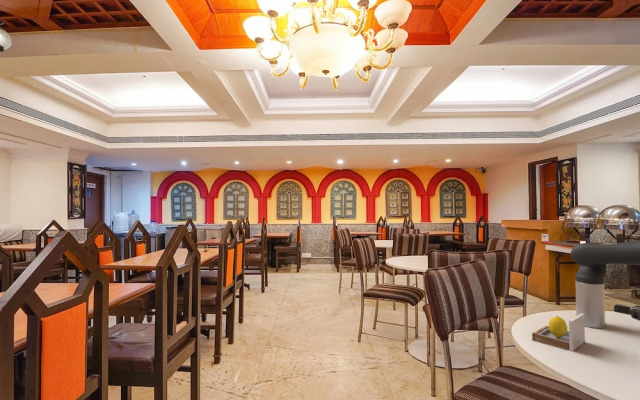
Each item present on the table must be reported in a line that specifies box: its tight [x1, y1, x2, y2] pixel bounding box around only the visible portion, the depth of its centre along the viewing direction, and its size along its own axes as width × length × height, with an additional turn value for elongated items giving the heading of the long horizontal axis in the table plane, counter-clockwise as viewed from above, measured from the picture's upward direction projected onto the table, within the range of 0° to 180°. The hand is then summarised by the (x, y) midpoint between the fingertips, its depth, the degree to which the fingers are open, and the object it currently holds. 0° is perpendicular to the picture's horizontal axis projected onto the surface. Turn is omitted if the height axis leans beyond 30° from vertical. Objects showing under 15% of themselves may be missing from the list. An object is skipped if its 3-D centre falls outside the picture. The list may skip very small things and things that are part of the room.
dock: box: [531, 325, 570, 351], centre depth 122 cm, size 12×11×2 cm
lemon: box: [548, 315, 568, 338], centre depth 122 cm, size 6×6×8 cm
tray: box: [538, 313, 586, 352], centre depth 122 cm, size 12×11×10 cm
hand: (614, 307), depth 108 cm, fingers closed
